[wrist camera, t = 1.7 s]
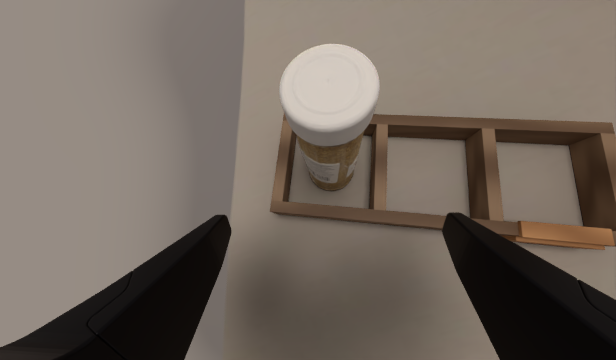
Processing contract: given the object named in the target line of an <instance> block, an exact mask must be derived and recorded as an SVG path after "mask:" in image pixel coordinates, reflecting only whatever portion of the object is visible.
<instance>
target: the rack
mask: <svg viewBox="0 0 616 360" xmlns="http://www.w3.org/2000/svg"><path fill="white" fill-rule="evenodd" d="M363 135H367V136H372V153H371V178H370V203H369V209H362V208H351V207H340V206H329V205H318V204H307V203H296V202H288V199H289V191H290V183H291V175H292V168H293V160H294V152H295V144H296V133H295V132H294V131H293V130H292V129H291V127H290V125H289V123H288V121H287V119H286V116H285V114H284V117H283V124H282V131H281V138H280V145H279V152H278V159H277V166H276V173H275V180H274V187H273V194H272V201H271V208H270V212H273V213H276V214H282V215H292V216H303V217H313V218H323V219H333V220H343V221H354V222H364V223H374V224H384V225H394V226H404V227H415V228H425V229H435V230H442V228H443V225H444V222H445V218H446V216H440V215H429V214H418V213H407V212H395V211H386V189H387V143H388V137H409V138H430V139H451V140H465V142H466V157H467V172H468V187H469V202H470V217H471V219H472V220H474V221H476V222H478V223H480V224H481V225H483V226H485V227H487V228H488V229H490V230H492V231H494V232H495V233H497V234H499V235H501V236H503V237H504V238H506V239H508V240H510V241H512V242H522V243H532V244H542V245H552V246H562V247H572V248H584V249H602V250H605V247H604V246H616V137H615V133H614V129H613V125H612V123H605V122H577V121H548V120H520V119H492V118H463V117H435V116H407V115H378V114H373V117H372V119H371V121H370V123H369V125H368V126H367V128H366V129H365V130H364V133H363ZM496 142H514V143H535V144H556V145H569V147H570V153H571V158H572V163H573V169H574V174H575V180H576V185H577V191H578V196H579V202H580V207H581V213H582V218H583V223H584V227H582V226H571V225H560V224H549V223H538V222H526V221H518V222H506V221H504V219H503V209H502V199H501V189H500V179H499V169H498V160H497V150H496Z"/></svg>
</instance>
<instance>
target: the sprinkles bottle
mask: <svg viewBox="0 0 616 360" xmlns="http://www.w3.org/2000/svg"><path fill="white" fill-rule="evenodd" d="M379 89H380V82H379V77H378V73H377V71H376V68H375V66H374V65H373V63H372V62H371V61H370V60H369V59H368V58H367V57H366V56H365V55H364V54H363V53H361V52H360V51H358V50H356V49H354V48H352V47H349V46H346V45H341V44H324V45H319V46H315V47H312V48H310V49H307V50H306V51H304V52H302V53H301V54H299V55H298V56H296V57H295V58H294V59H293V60H292V61H291V62H290V64H289V65H288V66H287V68H286V69H285V71H284V73H283V75H282V78H281V81H280V87H279V95H280V101H281V105H282V108H283V111H284V114H285V116H286V119H287V121H288V123H289V125H290V127H291V129H292V130H293V131H294V132H295V133H296V136H297V140H298V144H299V147H300V149H301V152H302V155H303V157H304V160H305V162H306V165H307V167H308V169H309V174H310V177H311V179H312V180H313V182H314V183H315V184H316V185H317V186H318V187H320V188H322V189H324V190H333V191H334V190H338V189H341V188H343V187H345V186H346V185H347V184H348V183H349V181H350V180H351V178H352V176H353V172H354V168H355V164H356V161H357V158H358V154H359V148H360V145H361V141H362V138H363V133H364V130H365V129H366V128H367V126H368V125H369V123H370V121H371V119H372V117H373V114H374V111H375V107H376V104H377V100H378V96H379Z"/></svg>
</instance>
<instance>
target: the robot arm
mask: <svg viewBox="0 0 616 360" xmlns="http://www.w3.org/2000/svg"><path fill="white" fill-rule="evenodd" d="M442 233H443V236H444V239H445V242H446V245H447V247H448V250H449V253H450V256H451V258H452V261H453V264H454V267H455V269H456V271H457V274H458V276H459V278H460V280H461V282H462V284H463V286H464V288H465V290H466V292H467V294H468V296H469V298H470V300H471V302H472V304H473V306H474V308H475V310H476V312H477V314H478V316H479V318H480V320H481V322H482V324H483V326H484V328H485V330H486V332H487V335H488V337H489V339H490V341H491V343H492V345H493V347H494V349H495V351H496V353H497V355H498V357H499V359H500V360H616V300H615V299H613V298H611V297H609V296H608V295H606V294H604V293H602V292H600V291H598V290H597V289H595V288H593V287H591V286H590V285H588V284H586V283H584V282H583V281H581V280H577V278H575V277H574V276H572V275H570V274H568V273H566V272H565V271H563V270H561V269H559V268H558V267H556V266H554V265H552V264H551V263H549V262H547V261H545V260H543V259H542V258H540V257H538V256H536V255H535V254H533V253H531V252H529V251H527V250H526V249H524V248H522V247H520V246H519V245H517V244H515V243H513V242H511V241H510V240H508V239H506V238H504V237H503V236H501V235H499V234H497V233H495V232H494V231H492V230H490V229H488V228H487V227H485V226H483V225H481V224H480V223H478V222H476V221H474V220H472V219H471V218H469V217H467V216H465V215H464V214H462V213H448V214H447V216H446V218H445V222H444V225H443V228H442ZM230 236H231V227H230V224H229V221H228V218H227V216H226V215H215V216H214V217H212V218H211V219H209V220H208V221H206V222H205V223H203V224H202V225H200V226H199V227H197V228H196V229H194V230H193V231H191V232H190V233H188V234H187V235H185V236H184V237H182V238H181V239H179V240H178V241H176V242H175V243H173V244H172V245H170V246H169V247H167V248H166V249H164V250H163V251H161V252H160V253H158V254H157V255H155V256H154V257H152V258H151V259H149V260H148V261H146V262H145V263H143V264H142V265H140V266H139V267H137V268H136V269H134V270H133V271H131V272H129V273H128V274H127V275H125V276H124V277H122V278H121V279H119V280H118V281H116V282H114V283H113V284H111V285H110V286H108V287H107V288H105V289H104V290H102V291H100V292H99V293H97V294H95V295H94V296H92V297H91V298H89V299H87V300H86V301H84V302H83V303H81V304H79V305H77V306H76V307H74V308H72V309H71V310H69V311H67V312H66V313H64V314H62V315H61V316H59V317H57V318H56V319H54V320H52V321H51V322H49V323H48V324H46V325H44V326H43V327H41V328H39V329H37V330H36V331H34V332H32V333H30V334H29V335H27V336H25V337H23V338H21V339H19V340H17V341H15V342H12V343H10V344H8V345H5V346H3V347H0V360H184V359H185V356H186V354H187V351H188V349H189V346H190V344H191V342H192V339H193V337H194V334H195V332H196V329H197V327H198V324H199V322H200V319H201V317H202V314H203V312H204V309H205V307H206V305H207V302H208V300H209V297H210V295H211V292H212V289H213V287H214V285H215V282H216V280H217V277H218V275H219V272H220V270H221V267H222V264H223V261H224V257H225V254H226V250H227V247H228V243H229V240H230Z"/></svg>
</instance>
